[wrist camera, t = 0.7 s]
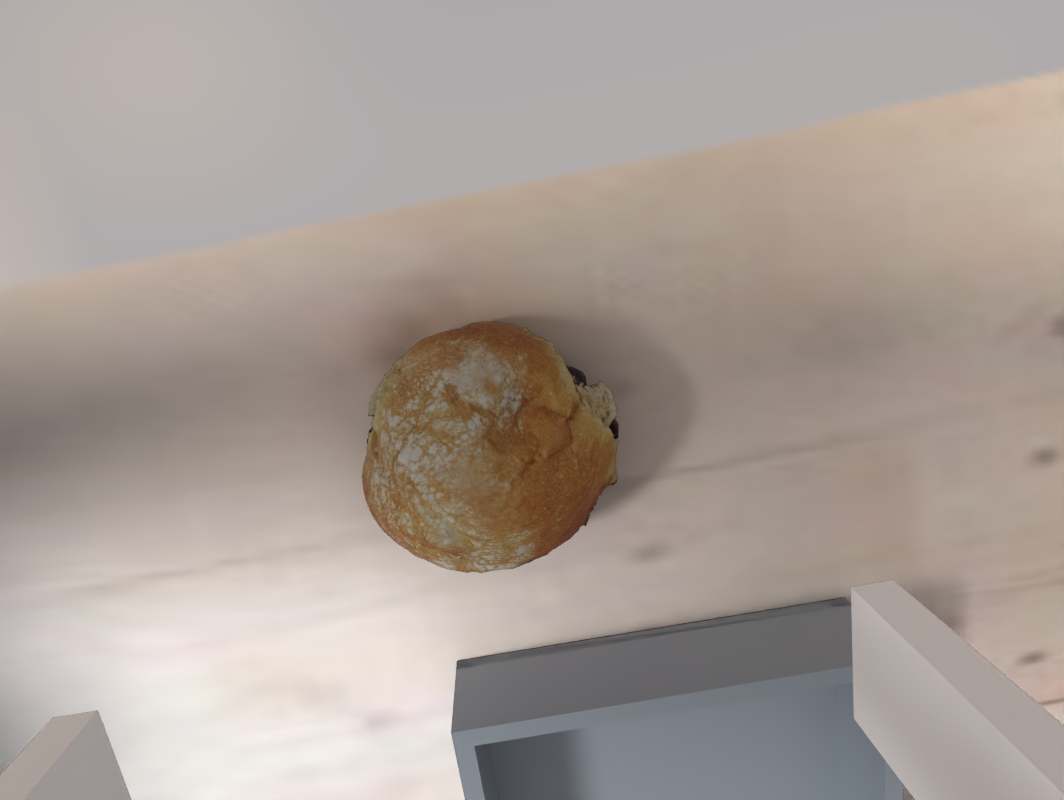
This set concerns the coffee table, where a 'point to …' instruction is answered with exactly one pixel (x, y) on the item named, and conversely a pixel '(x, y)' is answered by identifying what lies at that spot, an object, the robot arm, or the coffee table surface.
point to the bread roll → (487, 448)
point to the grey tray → (674, 715)
